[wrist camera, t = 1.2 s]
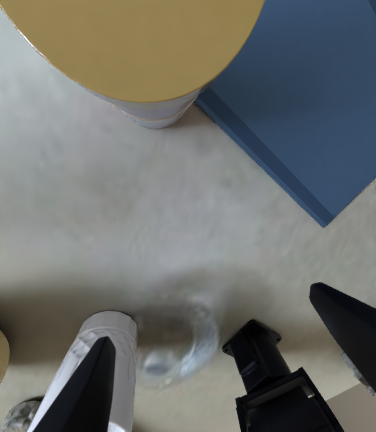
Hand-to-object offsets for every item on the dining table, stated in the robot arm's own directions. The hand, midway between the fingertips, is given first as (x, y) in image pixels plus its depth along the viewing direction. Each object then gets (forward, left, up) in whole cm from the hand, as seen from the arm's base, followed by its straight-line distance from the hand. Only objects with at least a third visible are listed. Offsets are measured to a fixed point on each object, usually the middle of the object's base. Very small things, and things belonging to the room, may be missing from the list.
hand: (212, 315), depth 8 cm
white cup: (-2, +17, -13) cm, 22 cm away
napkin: (-4, -17, -13) cm, 21 cm away
